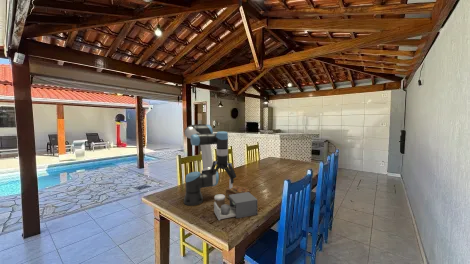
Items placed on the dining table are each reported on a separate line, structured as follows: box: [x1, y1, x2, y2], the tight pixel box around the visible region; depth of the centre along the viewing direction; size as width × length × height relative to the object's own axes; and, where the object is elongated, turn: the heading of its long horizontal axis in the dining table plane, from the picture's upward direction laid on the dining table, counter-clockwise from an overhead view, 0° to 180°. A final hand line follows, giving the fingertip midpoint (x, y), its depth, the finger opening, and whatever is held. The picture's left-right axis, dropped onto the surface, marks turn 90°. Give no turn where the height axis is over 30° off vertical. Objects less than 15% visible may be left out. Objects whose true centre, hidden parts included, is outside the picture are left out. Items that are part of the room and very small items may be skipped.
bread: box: [225, 184, 251, 199], centre depth 159 cm, size 19×11×10 cm, turn 56°
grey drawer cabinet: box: [228, 192, 258, 219], centre depth 137 cm, size 15×16×10 cm
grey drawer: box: [213, 201, 236, 221], centre depth 133 cm, size 13×16×7 cm
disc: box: [214, 193, 226, 201], centre depth 146 cm, size 8×8×2 cm
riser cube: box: [214, 198, 226, 209], centre depth 146 cm, size 6×6×6 cm
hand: (222, 186), depth 128 cm, fingers open, 13 cm apart
